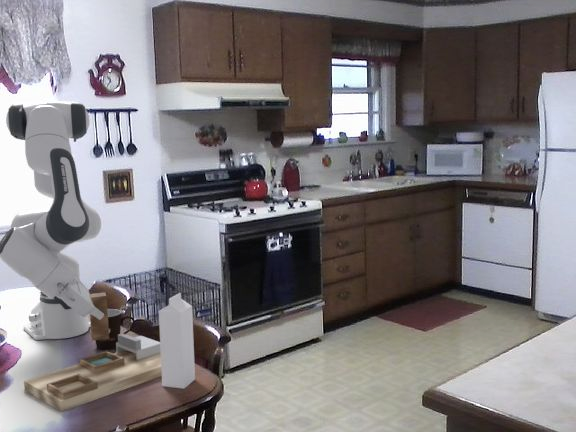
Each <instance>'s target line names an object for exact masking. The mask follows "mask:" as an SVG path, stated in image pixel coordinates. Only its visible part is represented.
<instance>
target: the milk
mask: <svg viewBox="0 0 576 432" xmlns="http://www.w3.org/2000/svg"><path fill="white" fill-rule="evenodd" d="M193 318H194V316H193V305H191V303H188V302H187V301H185V300H184V299H182V293H181V292H179V293H177V294H175V295H173V296H171V297H170V298H169V299H168V305H166V306H164V307H162V309H160V310H158V320H159V321H158V323H159V325H158V327H159V342H160V349H161V370H162V376H161V385H162V387H164V388H165V387H167V388H175V389H183V390H184V389H186V388H187V387H188V386H189V385H190V384H191V383H193V382H194V381H195V380H196V368H195V366H196V365H195V347H194V345H195V344H194V324H193V323H194V322H193Z"/></svg>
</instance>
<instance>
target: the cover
mask: <svg viewBox="0 0 576 432" xmlns="http://www.w3.org/2000/svg"><path fill="white" fill-rule="evenodd" d="M123 333H124V332H122V333H120V334H118V343H116V349H115V351H116V352H120V351H124V350H128V351H131V352H133V353H136V360H140V359H143V358H146V357H149V356H152V355H155V354H158V353H161V349H160V341H158V340H155V339H152V338H149V337H146V336H143V335H138V336H131V335H129V334H127V333H126V334H123ZM116 352H115V353H116Z"/></svg>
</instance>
